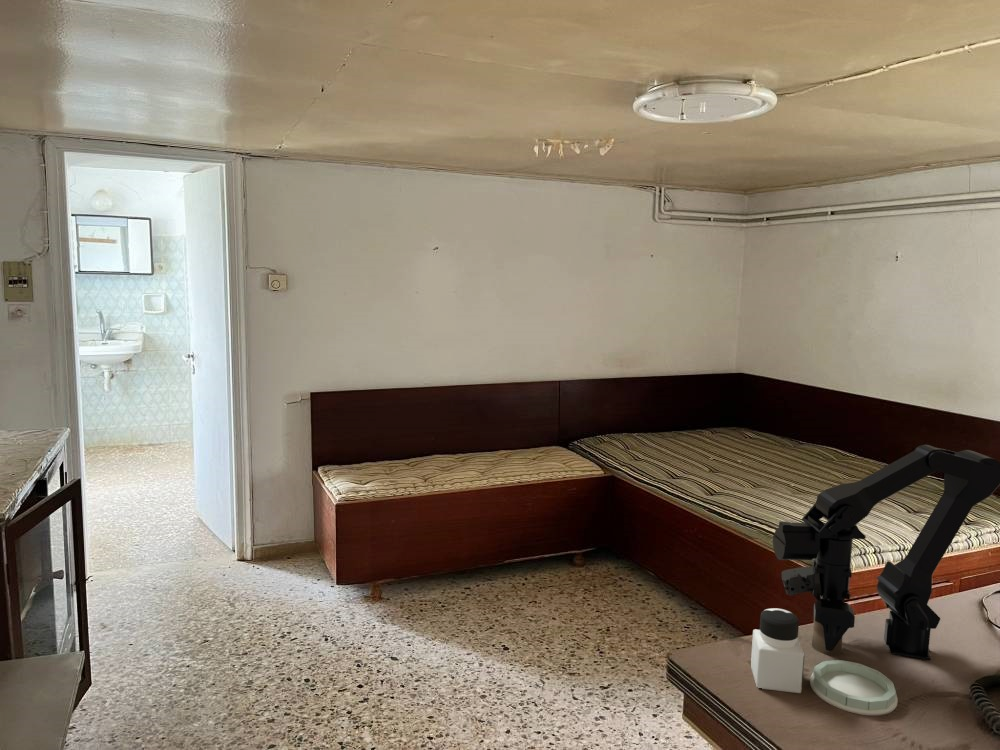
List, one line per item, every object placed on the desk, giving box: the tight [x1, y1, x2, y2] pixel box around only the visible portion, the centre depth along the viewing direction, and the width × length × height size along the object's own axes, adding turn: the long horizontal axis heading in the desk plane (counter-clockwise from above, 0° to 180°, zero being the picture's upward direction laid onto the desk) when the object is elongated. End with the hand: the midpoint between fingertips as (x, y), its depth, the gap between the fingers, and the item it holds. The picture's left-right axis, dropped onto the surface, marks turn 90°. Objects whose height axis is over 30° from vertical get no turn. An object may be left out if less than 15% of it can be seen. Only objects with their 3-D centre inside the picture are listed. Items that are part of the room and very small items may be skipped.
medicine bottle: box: [750, 607, 805, 694], centre depth 120 cm, size 7×7×12 cm
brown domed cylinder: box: [811, 617, 844, 656], centre depth 131 cm, size 5×5×7 cm
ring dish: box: [809, 659, 899, 716], centre depth 117 cm, size 13×13×2 cm
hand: (827, 639), depth 131 cm, fingers open, 8 cm apart
